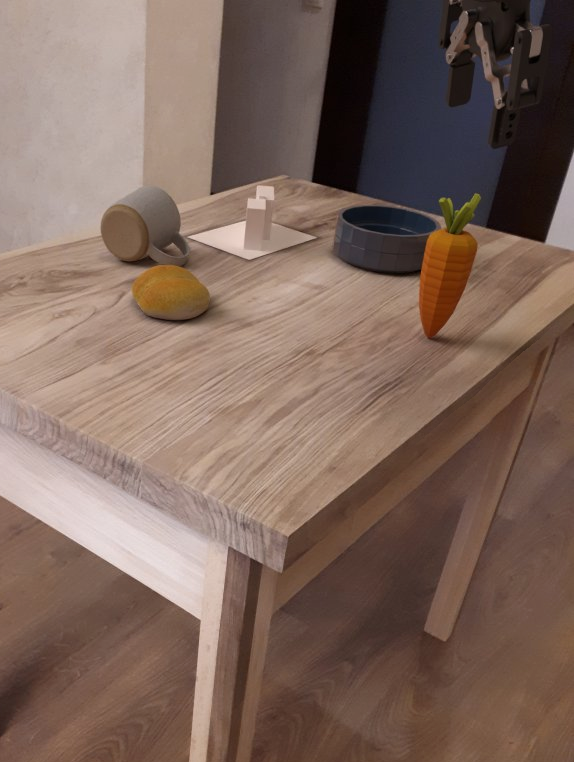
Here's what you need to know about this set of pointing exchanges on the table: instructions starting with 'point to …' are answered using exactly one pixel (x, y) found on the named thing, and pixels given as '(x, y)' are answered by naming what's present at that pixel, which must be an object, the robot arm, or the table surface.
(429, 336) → the carrot
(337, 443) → the table surface
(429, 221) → the bowl
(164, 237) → the ceramic mug
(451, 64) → the robot arm
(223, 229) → the napkin holder
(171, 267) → the bread roll
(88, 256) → the table surface
